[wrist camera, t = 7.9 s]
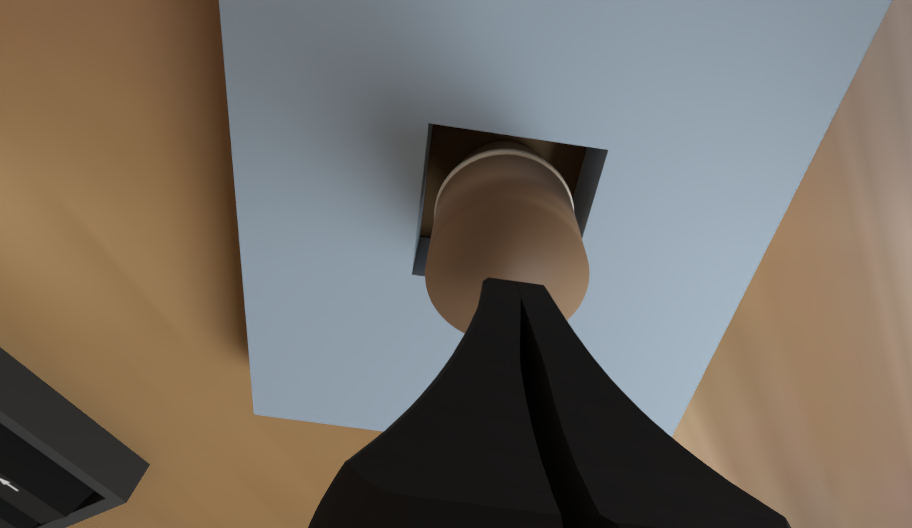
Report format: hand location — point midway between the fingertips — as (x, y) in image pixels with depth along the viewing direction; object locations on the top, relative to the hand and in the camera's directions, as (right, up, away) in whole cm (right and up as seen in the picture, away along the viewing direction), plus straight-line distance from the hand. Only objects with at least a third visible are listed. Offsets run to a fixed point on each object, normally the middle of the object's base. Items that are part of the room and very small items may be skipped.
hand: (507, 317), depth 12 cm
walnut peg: (0, +4, +6) cm, 7 cm away
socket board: (0, +4, +6) cm, 7 cm away
